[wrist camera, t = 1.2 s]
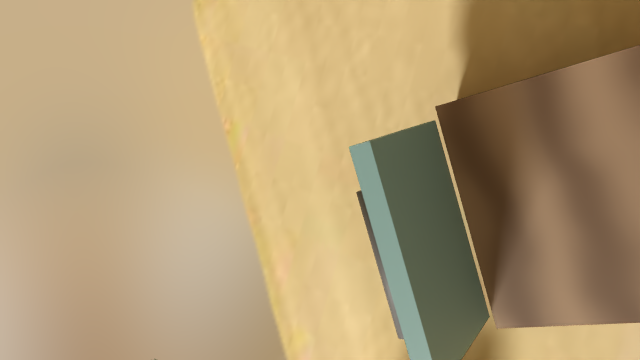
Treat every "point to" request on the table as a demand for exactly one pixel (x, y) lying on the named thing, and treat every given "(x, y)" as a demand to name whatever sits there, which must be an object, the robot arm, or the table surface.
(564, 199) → the wooden l-shaped block
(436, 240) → the grey-green flat slab
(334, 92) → the table surface
